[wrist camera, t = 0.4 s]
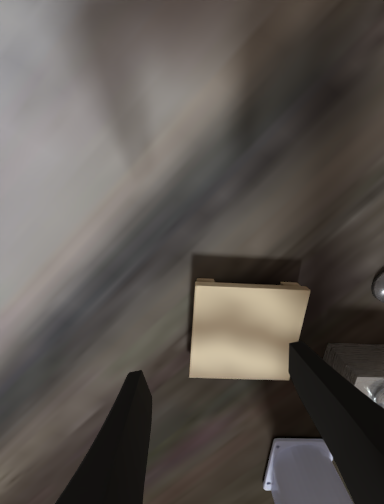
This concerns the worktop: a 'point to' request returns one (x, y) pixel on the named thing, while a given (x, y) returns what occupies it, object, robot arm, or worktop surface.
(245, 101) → the worktop surface
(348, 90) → the worktop surface
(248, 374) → the stand
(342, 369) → the housing
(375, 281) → the round metal disc
